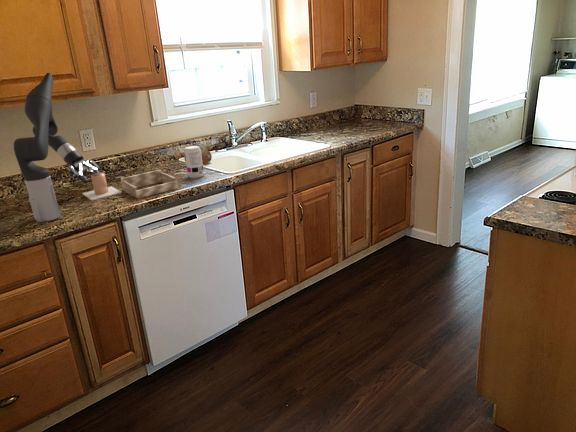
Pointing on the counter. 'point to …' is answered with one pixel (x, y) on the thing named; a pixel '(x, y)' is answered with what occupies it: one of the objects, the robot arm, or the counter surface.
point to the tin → (205, 156)
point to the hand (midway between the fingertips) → (94, 179)
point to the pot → (99, 183)
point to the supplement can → (194, 161)
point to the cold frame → (148, 183)
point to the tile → (93, 196)
